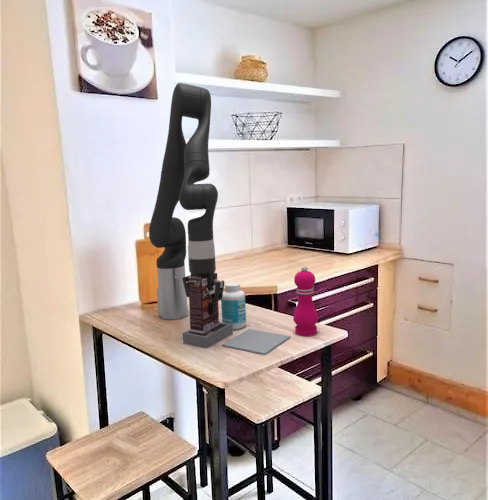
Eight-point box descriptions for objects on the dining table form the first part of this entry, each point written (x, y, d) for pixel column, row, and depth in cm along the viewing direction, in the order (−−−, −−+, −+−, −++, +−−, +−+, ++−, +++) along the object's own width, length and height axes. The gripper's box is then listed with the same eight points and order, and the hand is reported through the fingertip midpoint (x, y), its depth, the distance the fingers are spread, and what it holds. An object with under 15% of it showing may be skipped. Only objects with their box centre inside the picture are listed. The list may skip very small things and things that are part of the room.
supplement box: (204, 334, 130) (201, 279, 128) (189, 332, 133) (186, 277, 130) (220, 325, 138) (218, 272, 135) (206, 322, 140) (204, 271, 137)
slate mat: (221, 346, 129) (221, 344, 129) (249, 330, 141) (249, 328, 141) (264, 355, 122) (264, 353, 122) (290, 337, 133) (290, 336, 133)
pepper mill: (321, 335, 134) (320, 267, 131) (297, 337, 133) (295, 269, 129) (314, 327, 141) (312, 262, 138) (290, 329, 140) (288, 264, 136)
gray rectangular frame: (183, 343, 133) (182, 333, 133) (210, 329, 143) (209, 320, 143) (206, 348, 128) (205, 337, 128) (232, 333, 139) (232, 324, 138)
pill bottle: (243, 330, 141) (241, 287, 139) (219, 330, 142) (217, 287, 140) (248, 322, 148) (246, 281, 146) (225, 322, 150) (223, 281, 147)
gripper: (173, 255, 132) (177, 313, 135) (213, 260, 124) (216, 321, 127) (191, 251, 138) (194, 306, 141) (230, 255, 130) (232, 313, 133)
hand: (204, 313), depth 134 cm, fingers closed on supplement box, 5 cm apart
